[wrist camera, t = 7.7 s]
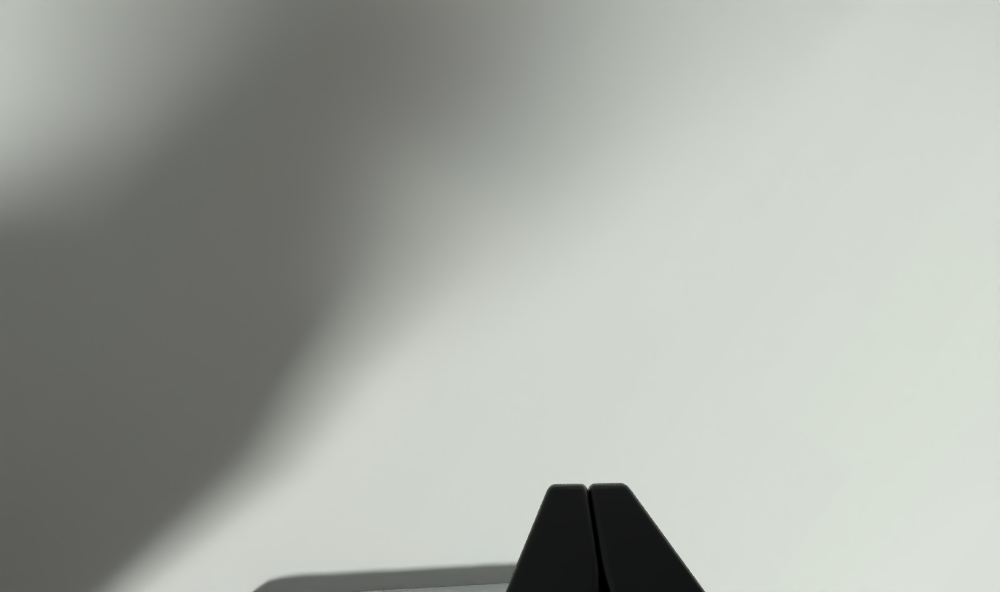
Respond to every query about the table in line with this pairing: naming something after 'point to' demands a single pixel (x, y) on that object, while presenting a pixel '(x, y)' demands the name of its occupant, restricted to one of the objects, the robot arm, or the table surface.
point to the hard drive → (456, 588)
